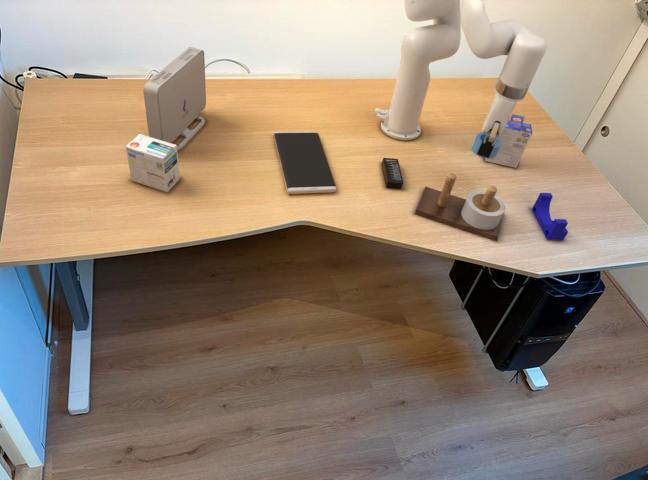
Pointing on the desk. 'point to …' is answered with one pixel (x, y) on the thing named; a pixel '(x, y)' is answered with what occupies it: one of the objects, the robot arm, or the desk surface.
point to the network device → (176, 97)
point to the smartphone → (304, 163)
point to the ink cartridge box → (512, 142)
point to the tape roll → (478, 141)
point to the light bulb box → (153, 162)
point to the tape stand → (464, 209)
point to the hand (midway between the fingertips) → (485, 147)
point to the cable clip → (549, 218)
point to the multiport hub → (392, 173)
